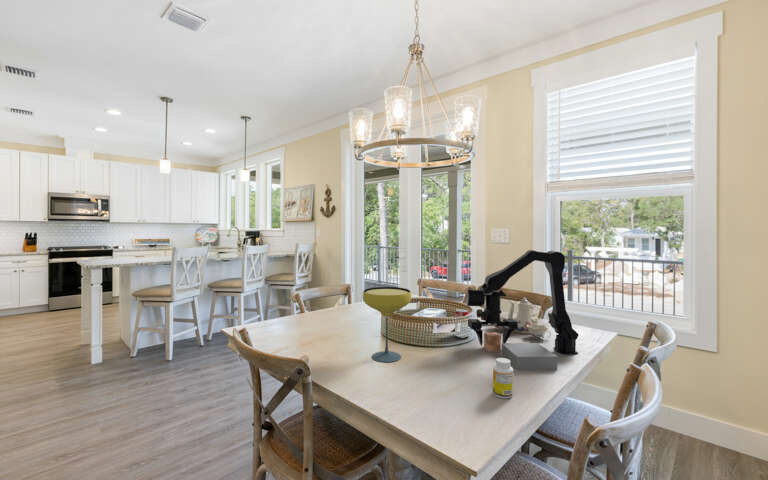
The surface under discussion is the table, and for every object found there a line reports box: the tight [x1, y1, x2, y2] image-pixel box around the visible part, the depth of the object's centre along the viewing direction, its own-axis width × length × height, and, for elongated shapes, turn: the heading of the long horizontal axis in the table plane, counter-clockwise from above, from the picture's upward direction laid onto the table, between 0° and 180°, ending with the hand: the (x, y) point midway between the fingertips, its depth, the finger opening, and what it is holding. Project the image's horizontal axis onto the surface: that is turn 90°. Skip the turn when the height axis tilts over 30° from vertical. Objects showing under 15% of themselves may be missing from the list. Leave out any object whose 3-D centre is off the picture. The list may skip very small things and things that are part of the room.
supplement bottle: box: [492, 357, 514, 400], centre depth 101 cm, size 6×6×10 cm
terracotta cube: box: [483, 332, 502, 352], centre depth 139 cm, size 5×5×6 cm
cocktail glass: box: [362, 286, 412, 363], centre depth 130 cm, size 18×18×25 cm
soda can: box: [453, 308, 470, 318], centre depth 155 cm, size 7×7×12 cm
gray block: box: [501, 342, 558, 371], centre depth 126 cm, size 14×14×5 cm
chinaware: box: [494, 296, 552, 340], centre depth 162 cm, size 28×17×17 cm, turn 49°
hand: (492, 345), depth 139 cm, fingers open, 9 cm apart
